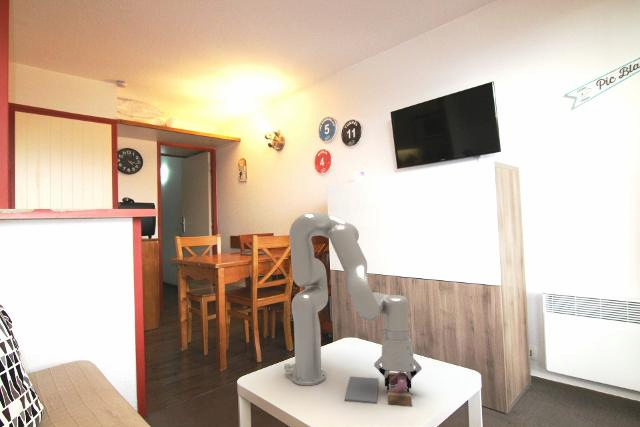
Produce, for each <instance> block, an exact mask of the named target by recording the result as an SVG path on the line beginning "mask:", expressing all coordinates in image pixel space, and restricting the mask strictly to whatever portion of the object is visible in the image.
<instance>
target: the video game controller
mask: <svg viewBox="0 0 640 427" xmlns="http://www.w3.org/2000/svg"><path fill="white" fill-rule="evenodd" d="M396 373H397V374H396V375H395V376H394V377H392V378H391V379H390V380H389V386H394V387H393V388H392V389H390V390H389V392H391V393H404V392H405V391H407V389H408V387H407V382H406V374H405V373H406V372H396Z"/></svg>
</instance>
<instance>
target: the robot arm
mask: <svg viewBox="0 0 640 427" xmlns="http://www.w3.org/2000/svg"><path fill="white" fill-rule="evenodd" d="M359 234H360V233H359V231H358V229H357V227H356V226H355V225H353V224H351V223H349V222H347V221H343V220H342V219H339V218H337V217H334V216H332V215H330V214H327V213H322V212H307V213H303V214H301V215H299V216H298V217H297V218H295V220H294V221H292V224H291V225H290V228H289V244H290V245H289V246H290V258H291V269H292V270H291V271H292V279H293V281H294V284H296V285H297V286H298V287H302V288H303V287H304V289H303V290H301V291H298V293H296V294H295V295H294V297H293V299H292V301H291V314H292V319H293V331H294V332H293V333H294V336H293V337H294V363H292V364H290V363H285V364H284V365H283V366H284V367H283V369H284V370H285V372H286V373H291V374H290V380H291V381H292V383H294V384H297V385H301V386H313V385H317V384H321V383H322V382H323V381H325V380H326V377H327V373H326V372H325V371H324V370H323V369H322V343H321V340H322V338H321V336H322V335H321V323H320V318H319V314H318V313H319V312H320V311H322V310H323V309H324V308H326V306H327V304H328V302H329V289H328V278H327V277H328V276H327V269H326V267H325V265H324V263H323V262H322V261H321V260H320V259H319V258H316V257H315V248H314V244H313V242H312V238H313V237H317V236H322V237H324V238H326V239H329V241H330V244H331V245H332V248H333V250H334V251H335V254H336V256H337V258H338V260H339V263H340V265H341V267H342V269H343V271H344V278H345V282H346V287H347V291H348V294H349V297H350V299H351V301H352V303H353V304H352V305H353V306H354V309H355V311H356V312H357V314H358V315H359V317H360V318H362V319H363V320H364V321H367V322H373V321H376V320H377V319H378V318H380V317H381V316H382V315H384V320H385V321H384V325H385V326H384V328H383V329H380V334H383V335H384V336H383V338H382V344H381V345H382V346H381V355H380V357H379V358H378V359H377V360H376V361H375V362H374V364H373V366H374V368H376V370H378V372H379V373H380V374H381V375H382V376H383V378H384V387H386V391H388V392H390V384H389V375H388V374H389V372H396V373H398V372H404V373H406V374H407V377H406V382H407V386H406V387H408V389H407V390H406V392H407V393H410V389H412V380H413V378H414V377H415V376H417V374H418V373H420V372H421V371H422V370H423V369H422V366H421V364H420V363H419V362H418V361H417V360H416V359H415V358H414V348H413V341H412V339H411V337H410V336H409V335H410V334H409V330H410V328H409V300H408V298H407V297H406V296H405V295H404V296H403V295H401V294H400V295H399V294H386V293H381V292H376V291H375V292H373V290H372V289H371V287H370V283H369V280H368V261H367V259H366V257H365V254H364V253H363V251H362V248H361V246H360V244H359V242H358V240H359V238H360V235H359Z"/></svg>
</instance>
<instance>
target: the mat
mask: <svg viewBox="0 0 640 427" xmlns="http://www.w3.org/2000/svg"><path fill="white" fill-rule="evenodd" d="M378 387H379V378H378V377H366V376H364V377H363V376H349V380H348V384H347V387H346V388H347V389H346V392H345V396H344V398H343V399H344V402H353V403H366V404H376V405H377V403H378V392H379V388H378Z"/></svg>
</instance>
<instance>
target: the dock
mask: <svg viewBox="0 0 640 427" xmlns="http://www.w3.org/2000/svg"><path fill="white" fill-rule="evenodd" d="M397 373H398V372H395V371H389V374H388V375H389V380H390V379H391V378H392V377H394V376H395V375H396V374H397ZM404 373H405V374H406V372H404ZM406 377H407V374H406ZM412 400H413V399H412V393H404V392H403V393H391V392H390V391H388V392H387V405H388V406H389V405H390V406H401V407H402V406H403V407H410V408H411V407H413V406H412V404H413V402H412Z"/></svg>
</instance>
